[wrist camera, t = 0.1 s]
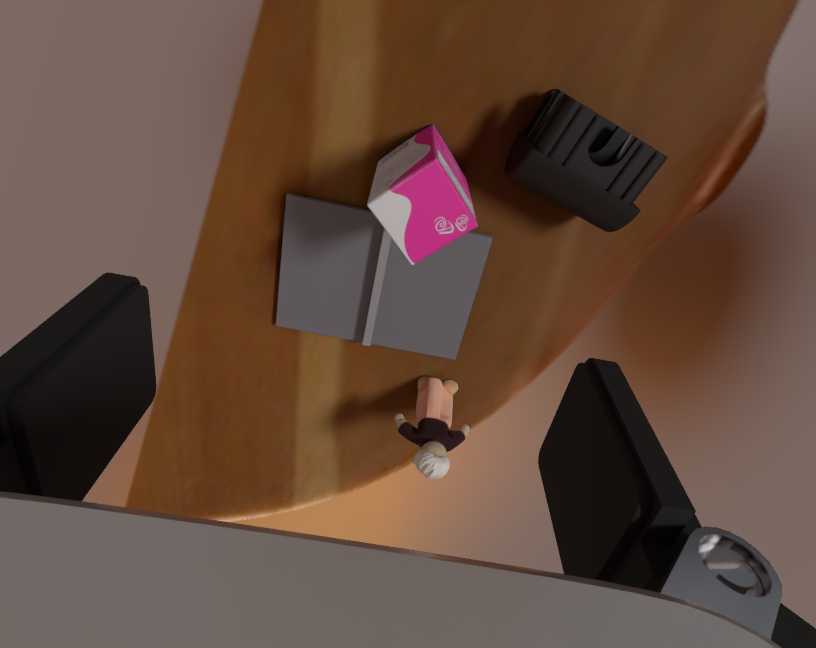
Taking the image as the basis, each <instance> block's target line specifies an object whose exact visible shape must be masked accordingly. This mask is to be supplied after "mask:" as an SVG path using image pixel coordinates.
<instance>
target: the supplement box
mask: <svg viewBox="0 0 816 648" xmlns="http://www.w3.org/2000/svg"><path fill="white" fill-rule="evenodd" d="M367 206H368V207H369V209H370V210H371V212H372V213H373V214H374V215H375V217H376V218H377V219H378V221H379V222H380V223H381V225H382V226H383V227H384V229H385V230H386V231H387V233H388V234H389V235H390V237H391V238H392V239H393V241H394V242H395V243H396V245H397V246H398V247H399V248H400V250H401V251H402V253H403V254H404V255H405V257H406V258H407V259H408V261H409V262H410V264H411V265H414V264H416V263H417V262H419V261H421V260H422V259H424V258H426V257H427V256H429V255H431V254H432V253H434V252H436V251H437V250H439V249H441V248H442V247H444V246H445V245H447V244H449V243H450V242H452V241H454V240H456V239H457V238H459V237H460V236H462V235H464V234H465V233H467V232H469V231H470V230H472V229H474V228H475V227H477V220H476V216H475V212H474V208H473V204H472V200H471V196H470V192H469V188H468V184H467V179H466V177H465V175H464V174H463V172H462V170H461V169H460V167H459V165H458V164H457V162H456V160H455V159H454V157H453V155H452V154H451V152H450V150H449V149H448V147H447V145H446V144H445V142H444V140H443V139H442V137H441V135H440V134H439V132H438V131H437V129H436V127H435V126H434V125H433V124H431V125H429V126H427V127H425V128H424V129H422V130H421V131H419V132H418V133H416V134H415V135H413V136H412V137H410V138H409V139H408V140H406V141H405V142H403V143H402V144H400V145H399V146H397V147H396V148H395V149H393V150H392V151H390V152H389V153H388V154H386V155H385V156H383V157H382V158H381V159H379V160H378V164H377V168H376V172H375V176H374V180H373V184H372V188H371V192H370V196H369V199H368V203H367Z"/></svg>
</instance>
